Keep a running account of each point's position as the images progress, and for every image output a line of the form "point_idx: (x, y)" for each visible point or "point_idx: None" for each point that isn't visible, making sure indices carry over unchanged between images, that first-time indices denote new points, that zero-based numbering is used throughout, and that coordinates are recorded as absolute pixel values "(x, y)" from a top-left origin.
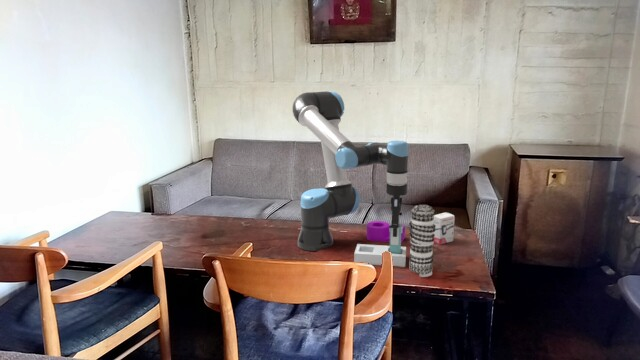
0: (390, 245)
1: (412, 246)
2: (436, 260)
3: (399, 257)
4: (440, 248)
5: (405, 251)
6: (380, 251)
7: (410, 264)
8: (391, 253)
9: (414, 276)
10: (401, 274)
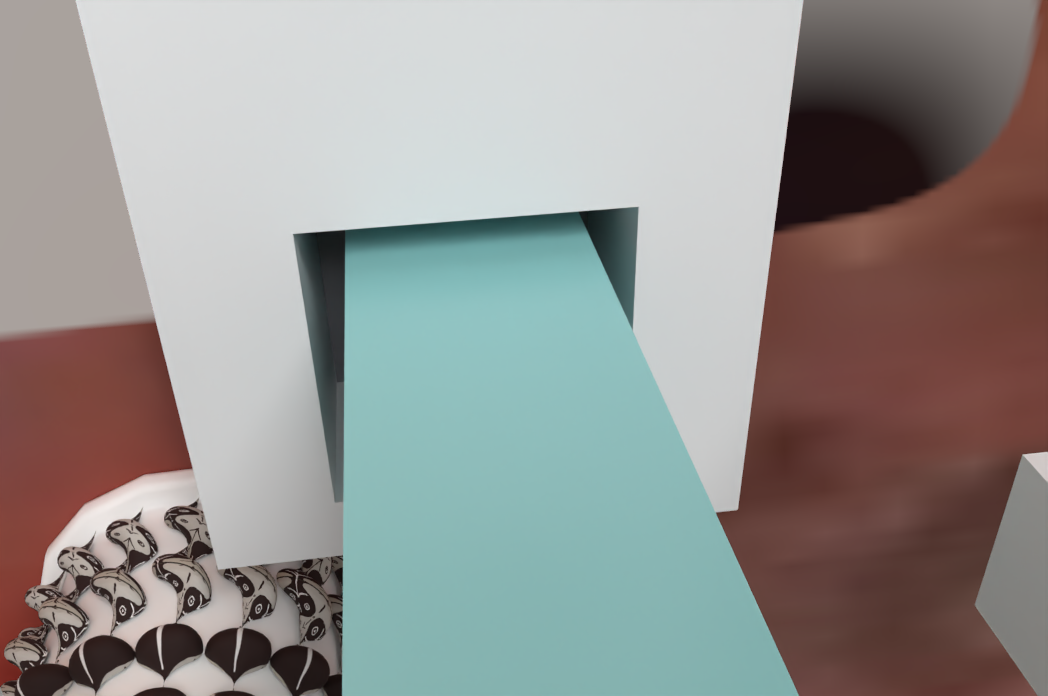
0: (346, 388)
1: None
2: None
3: (197, 462)
4: None
5: None
6: (355, 48)
7: (97, 594)
8: (305, 315)
9: (28, 550)
10: (11, 388)
